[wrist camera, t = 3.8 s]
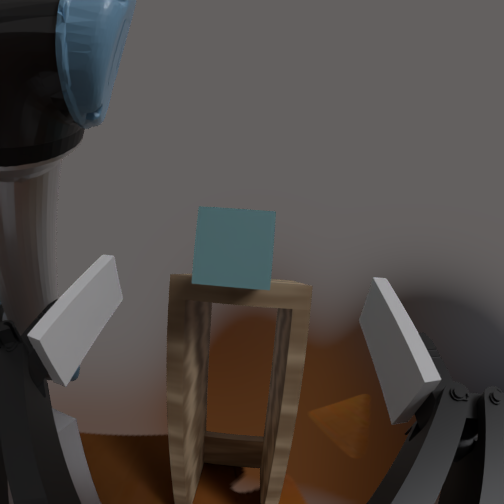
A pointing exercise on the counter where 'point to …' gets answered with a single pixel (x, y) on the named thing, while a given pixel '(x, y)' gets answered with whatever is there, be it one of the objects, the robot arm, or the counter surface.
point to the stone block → (73, 458)
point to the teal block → (234, 248)
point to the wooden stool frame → (196, 378)
